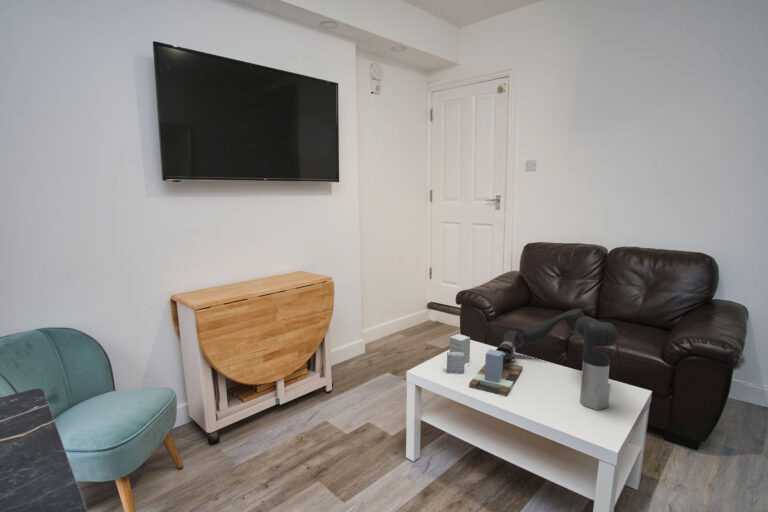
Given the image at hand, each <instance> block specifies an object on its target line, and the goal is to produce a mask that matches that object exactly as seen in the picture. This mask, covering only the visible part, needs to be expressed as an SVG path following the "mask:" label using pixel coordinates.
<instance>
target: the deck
mask: <svg viewBox="0 0 768 512" xmlns="http://www.w3.org/2000/svg"><path fill="white" fill-rule="evenodd" d="M523 367H524V366H522V365H519V364H518V365H517V364H514V363H508V364H504V363H503V369H502V379H504V380H509V381H513V386H515V384H516V382H517V381H518V379H519V376H520V375H521V374H520V373H522V371H523ZM476 374H482V375H485V364H484V365H483V366H482V367H481V369H479V370H478V372H477V373H476ZM468 385H469V388H471V389H475V390H479V391H483V392H486V393H487V392H488V393H492V394H496V395H500V396H504V397H508V396H509V394H510V392H511V391H510V387H508V386H504V385H503V386H502V388H501V389H500V388H496V387H491V386H487V385H483V384H480V380H477V379H473V378H472V379H471V380H470V382H469V384H468Z"/></svg>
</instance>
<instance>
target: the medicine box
mask: <svg viewBox="0 0 768 512" xmlns="http://www.w3.org/2000/svg"><path fill="white" fill-rule="evenodd" d="M464 360H465V356H464V353H461V352H450V351H447V352H446V373H447V372H450V373H451V374H465V363H464Z"/></svg>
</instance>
